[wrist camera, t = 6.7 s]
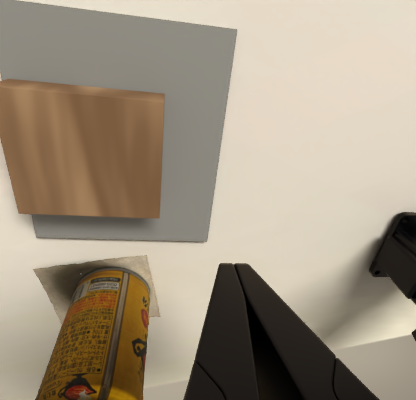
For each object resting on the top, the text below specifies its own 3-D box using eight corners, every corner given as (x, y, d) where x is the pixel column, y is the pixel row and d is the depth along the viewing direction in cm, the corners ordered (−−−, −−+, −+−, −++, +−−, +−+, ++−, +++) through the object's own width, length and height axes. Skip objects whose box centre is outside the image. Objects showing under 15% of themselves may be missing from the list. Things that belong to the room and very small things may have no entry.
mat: (235, 29, 16) (237, 29, 16) (206, 238, 23) (207, 241, 23) (-12, -4, 14) (-17, -4, 14) (38, 233, 21) (36, 237, 21)
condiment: (160, 314, 27) (153, 494, 17) (64, 326, 27) (-3, 519, 16) (147, 253, 23) (127, 437, 13) (34, 265, 23) (-78, 467, 13)
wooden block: (164, 102, 15) (-13, 85, 14) (159, 218, 18) (18, 213, 17) (164, 92, 17) (10, 77, 16) (160, 199, 20) (34, 193, 19)
